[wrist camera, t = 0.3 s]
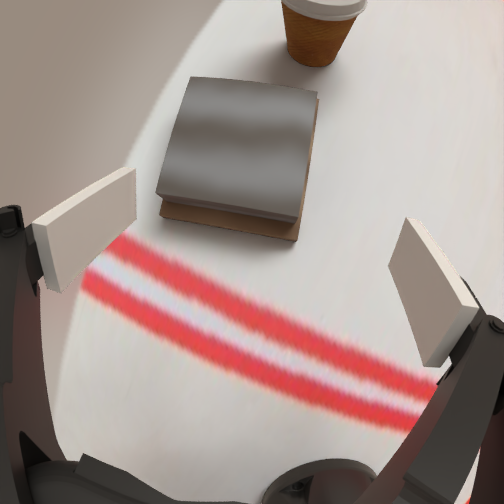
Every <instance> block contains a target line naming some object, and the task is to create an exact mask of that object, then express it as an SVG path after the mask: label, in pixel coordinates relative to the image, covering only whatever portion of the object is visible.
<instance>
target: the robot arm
mask: <svg viewBox="0 0 504 504" xmlns="http://www.w3.org/2000/svg"><path fill="white" fill-rule="evenodd" d="M136 219H137V216H136V169H135V168H126V167H122V168H120V169H118V170H117V171H115V172H113V173H111V174H109V175H108V176H106V177H104V178H102V179H101V180H99V181H97V182H95V183H93V184H92V185H90V186H88V187H87V188H85V189H83V190H81V191H80V192H78V193H76V194H75V195H73V196H71V197H70V198H68V199H67V200H65V201H64V202H62V203H60V204H59V205H57V206H56V207H54V208H52V209H51V210H49V211H48V212H47V213H45V214H43V215H42V216H40V217H39V218H37V219H36V220H34V221H33V222H32V223H31V224H30V225H29V226H27V227H26V228H24V223H23V218H22V212H21V207H20V206H18V205H9V206H5V207H2V208H0V504H247V503H241V502H235V501H230V502H190V501H177V500H174V499H171V498H169V497H167V496H166V495H164V494H162V493H160V492H159V491H157V490H155V489H154V488H152V487H150V486H149V485H147V484H145V483H144V482H142V481H141V480H139V479H137V478H136V477H134V476H133V475H131V474H130V473H128V472H126V471H124V470H121V469H119V468H116V467H114V466H111V465H109V464H106V463H104V462H102V461H99V460H97V459H95V458H93V457H91V456H88V455H86V454H84V453H83V455H82V457H81V459H80V461H79V462H78V461H68V460H66V458H65V456H64V454H63V452H62V450H61V448H60V446H59V444H58V442H57V439H56V435H55V431H54V426H53V421H52V416H51V411H50V405H49V400H48V393H47V387H46V380H45V371H44V362H43V352H42V341H41V340H42V339H41V320H40V287H39V284H38V280H39V279H40V278H41V277H42V276H44V279H45V283H46V286H47V289H50V290H53V291H56V292H59V293H62V292H63V291H64V290H65V289H66V288H67V287H68V286H69V284H70V283H71V282H72V281H73V280H74V279H75V278H76V277H77V276H78V275H79V274H80V273H81V272H82V271H83V270H84V269H85V268H86V267H87V266H88V265H89V264H90V263H91V262H92V261H93V260H94V259H95V258H96V257H97V256H98V255H99V254H100V253H101V252H102V251H103V250H104V249H105V248H106V247H107V246H108V245H109V244H110V243H111V242H113V241H114V240H115V239H116V238H117V237H118V236H119V235H120V234H121V233H122V232H123V231H124V230H125V229H126V228H128V227H129V226H130V225H131V224H132V223H133V222H134V221H135V220H136ZM388 267H389V270H390V272H391V275H392V277H393V280H394V282H395V285H396V287H397V290H398V293H399V295H400V298H401V300H402V303H403V306H404V309H405V311H406V314H407V317H408V320H409V323H410V326H411V329H412V332H413V335H414V338H415V341H416V344H417V347H418V350H419V353H420V356H421V360H422V363H423V366H424V367H439V368H440V367H441V366H442V365H443V363H444V362H445V360H446V359H447V358H448V356H450V359H451V362H452V364H451V366H450V367H449V368H448V370H447V371H446V372H445V374H444V375H443V376H442V378H441V379H440V380H439V381H438V383H437V384H436V385H438V388H437V390H436V391H435V393H434V395H433V396H432V398H431V400H430V402H429V403H428V405H427V407H426V408H425V410H424V411H423V413H422V415H421V416H420V418H419V419H418V421H417V422H416V424H415V426H414V427H413V429H412V430H411V432H410V433H409V434H408V436H407V437H406V439H405V440H404V442H403V443H402V444H401V446H400V447H399V449H398V450H397V451H396V453H395V454H394V455H393V457H392V458H391V459H390V461H389V462H388V463H387V465H386V466H385V467H384V468H383V470H382V471H381V472H380V473H379V475H378V476H377V475H376V473H375V472H374V471H373V470H372V469H371V468H370V467H368V466H367V465H365V464H363V463H360V462H358V461H354V460H349V459H325V460H319V461H314V462H310V463H307V464H304V465H301V466H299V467H296V468H294V469H292V470H290V471H288V472H286V473H285V474H283V475H282V476H280V477H279V478H278V479H277V480H275V481H274V482H273V483H272V484H271V486H270V487H269V488H268V490H267V491H266V493H265V495H264V498H263V502H262V504H454V502H455V501H456V499H457V497H458V495H459V493H460V491H461V489H462V487H463V485H464V483H465V481H466V479H467V477H468V475H469V472H470V470H471V468H472V466H473V463H474V461H475V459H476V456H477V454H478V452H479V449H480V447H481V449H480V455H479V461H478V466H477V472H476V476H475V481H474V486H473V490H472V494H471V498H470V502H469V504H504V322H502V321H501V320H500V319H499V318H497V317H495V316H492V315H486V313H485V311H484V310H483V308H482V306H481V305H480V303H479V301H478V300H477V298H475V295H474V293H473V292H472V291H471V289H470V287H469V286H468V284H467V282H466V281H465V280H464V279H463V278H461V277H460V276H459V275H458V273H457V272H456V270H455V269H454V267H453V266H452V264H451V263H450V261H449V260H448V258H447V257H446V256H445V254H444V253H443V251H442V250H441V249H440V247H439V246H438V244H437V243H436V242H435V240H434V239H433V238H432V236H431V235H430V234H429V232H428V231H427V230H426V228H425V227H424V226H423V224H422V223H421V222H420V221H419V220H416V219H412V218H408V217H406V218H405V221H404V224H403V227H402V230H401V233H400V235H399V238H398V241H397V244H396V247H395V249H394V252H393V255H392V257H391V260H390V262H389V265H388Z"/></svg>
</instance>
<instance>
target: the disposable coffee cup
mask: <svg viewBox="0 0 504 504" xmlns="http://www.w3.org/2000/svg"><path fill="white" fill-rule="evenodd" d="M281 1H282V2H281V3H282V8H283V9H282V10H283V16H284V24H285V31H286V39H287V45H288V52H289V54H290V55H291V57H292V58H293V59H294V60H296V61H297V62H299V63H301V64H303V65H306V66H311V67H322V66H326V65H328V64H330V63H331V62H333V60H334V59H335V57H336V55H337V53H338V51H339V50H340V48H341V46H342V44H343V42H344V40H345V38H346V36H347V34H348V33H349V31H350V29H351V27H352V25H353V23H354V21H355V20H356V18H357V16H358V15H359V14H360V13H361V12H363V11H364V10H365V8H366V6H367V0H281Z"/></svg>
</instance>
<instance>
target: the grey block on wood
mask: <svg viewBox="0 0 504 504" xmlns="http://www.w3.org/2000/svg"><path fill="white" fill-rule="evenodd" d="M318 102H319V99H317V92H315V91H310V90H304V89H299V88H293V87H287V86H281V85H274V84H267V83H260V82H252V81H243V80H233V79H222V78H208V77H190V80H189V83H188V85H187V88H186V91H185V94H184V97H183V100H182V103H181V106H180V109H179V112H178V115H177V118H176V121H175V125H174V128H173V131H172V134H171V138H170V141H169V144H168V148H167V151H166V155H165V158H164V162H163V166H162V169H161V173H160V177H159V181H158V185H157V188H156V192H155V193H156V194H158V195H159V196H160V197H162V198H163V201H162V205H161V209H160V214H159V215H160V216H162V217H163V218H168V219H174V220H180V221H186V222H191V223H197V224H203V225H208V226H214V227H219V228H225V229H230V230H236V231H241V232H247V233H252V234H258V235H263V236H268V237H274V238H279V239H284V240H290V241H295V242H296V241H297V239H298V234H299V228H300V222H301V216H302V210H303V204H304V198H305V192H306V186H307V179H308V173H309V166H310V160H311V153H312V146H313V139H314V132H315V125H316V118H317V110H318Z"/></svg>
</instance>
